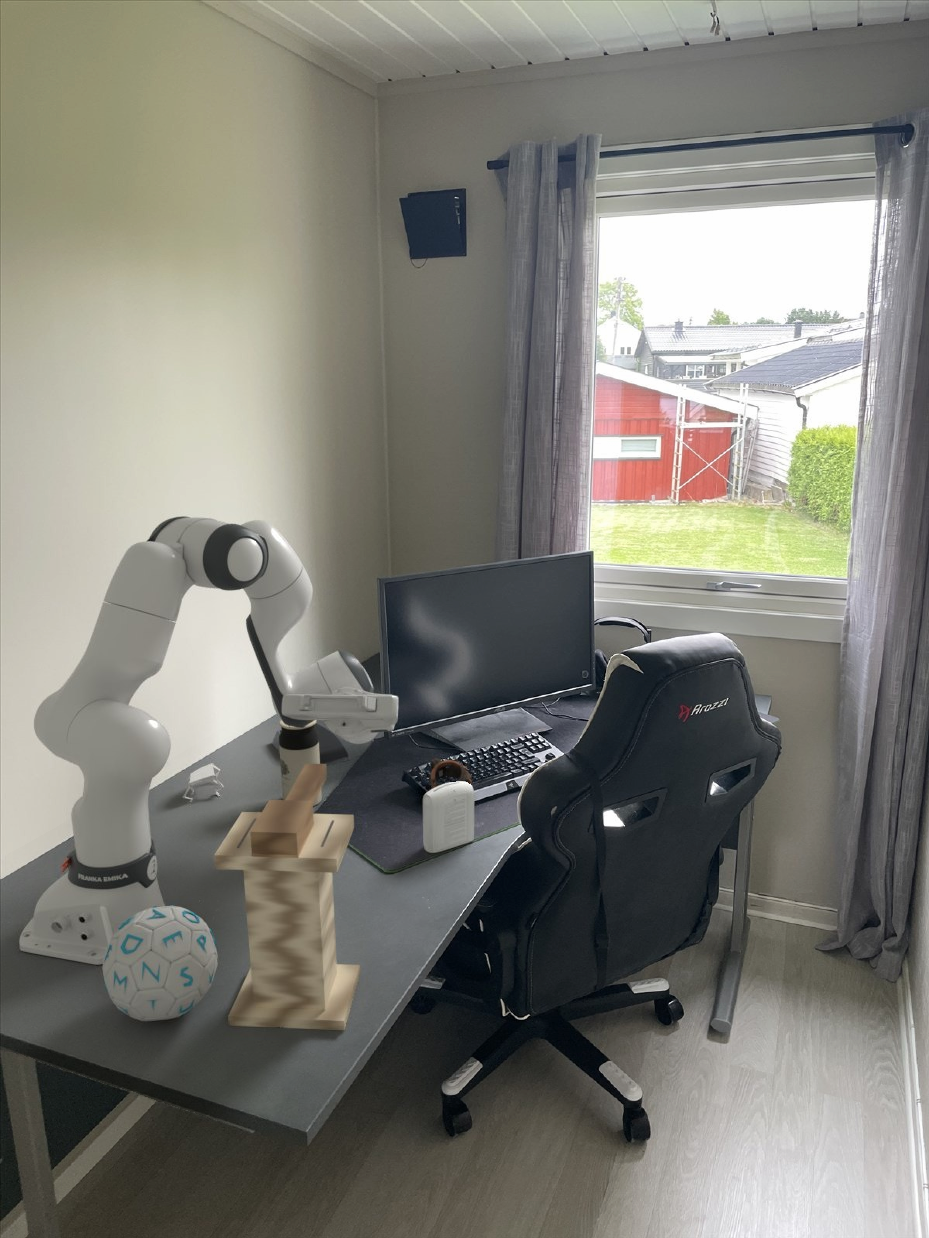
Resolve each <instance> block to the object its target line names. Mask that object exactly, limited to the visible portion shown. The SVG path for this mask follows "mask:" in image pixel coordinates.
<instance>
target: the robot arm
mask: <svg viewBox="0 0 929 1238" xmlns="http://www.w3.org/2000/svg"><path fill="white" fill-rule="evenodd" d="M193 586H196V587H201V588H205V589H207V588H209V589H218V590H221V591H226V592H227V591H240V590H243V591H244V592H245V594H246V595H247V597H248V599H249V602H250V613H249V615H248V616H247V618H246V620H245V627H246V631H247V635H248V637H249V642H250V644H251V646H252V649H253V651H254V654H255V657H256V660H257V661H258V664H259V667H260V670H261V672H262V675H263V677H264V679H265V682H266V684H267V687H268V689H269V692H270V696H271V701H272V706H273V708H274V711H275V713H276V715H277V716H278V718H279V720H282V721H283V722H284V724H286V725H289V726H293V727H299V728H303V727H305V726H306V725H308V724H309V723H311V722H313V721H314V720H317V721H323V722H324V724H325V726H326V727H327V728H328V730H329V731H331V732H332V733H333V734H334V735H335V736H338V737H340V738H341V739H343V740H344V741H346V742H348V743H351V744H355V745H360V744H361V745H362V744H366V743H369V742H371V741H372V740H374V739H375V738H376V737H377V735H379V733H383V732H384V733H385V732H386V733H387V732H392V731H394V729H395V725H396V724H397V723H398V719H399V717H398V716H399V696H398V695H393V694H387V693H377V692H374V689H375V687H374V685H373V683H372V679H371V677H370V676H369V674H368V672H367V671H366V669H365V667H364V666H363V665H362V664H361V662H360V661H359V660H358V659H357V657H356V656H355V655H354V654H353V653H350V652H348V651H345V650H339V649H338V650H336V651H334V652H332V653H330V654H328V655H326V656H324V657H322V658H320V659H319V660H317V661H315V662H314V663H312V664H310V665H308V666H306V667H304V668H302V669H300V670H299V671H297V672H294V673H287V672H286V670H285V667H284V665H283V662H282V660H281V656H280V654H279V652H278V649H279V646H280V644H281V641H282V640H283V639H284V638H285V636H287V634H288V633H289V632H290V631H291V630H292V629H293V627H294V626H296V625H297V624H298V623H299V622H300V621H301V620H302V618H303V617H304V615H306V614H307V611H308V610H309V607H310V605H311V602H312V600H313V594H314V592H313V591H314V587H313V584H312V582H311V578H310V576H309V574H308V572H307V570H306V568H305V565H303V563H302V560H301V559H300V558H299V556H298V554H297V553H296V552H295V550H294V549H293V547H292V546H291V545H290V543H289V542H288V540H286V538H285V537H284V536H283V535H282V534H281V532H280V531H279V530H278V529H277V528H276V526H274V525H273V524H272V523H270V522H268V521H266V520H261V519H260V520H259V519H255V520H250V521H247V522H245V523H242V524H236V523H229V522H225V521H221V520H217V519H214V518H211V517H196V516H195V517H189V516H186V515H185V516H175V517H171V518H168V519H166V520H164V521H162V522H161V523H159V524H158V525H157V526H156V527H155V529H154V530H153V531H152V533H151V534H150V536H149V537H148V539H147V540H146V541H140V542H137V543H134V544H132V545H131V546H130V547H128V548H127V550H126V552H125V553H124V554H123V556H122V558H121V559H120V562H119V563H118V566H117V567H116V569H115V571H114V574H113V575H112V577H111V580H110V582H109V584H108V588H107V590H106V592H105V596H104V598H103V601H102V604H101V607H100V611H99V614H98V616H97V619H96V621H95V624H94V628H93V631H92V634H91V637H90V639H89V642H88V644H87V647H86V649H85V652H84V653H83V656H82V657H81V659H80V660H79V662H78V663H77V665H76V667H75V668H74V670H73V672H72V673H71V674H70V676H69V678H67V680H66V681H65V682H64V683H63V685H62V686H60V688H59V689H58V690H56V691H55V692H53V693H51V694H49V695H48V696H47V697H45V699H44V700H42V702H41V703H40V704H39V706H38V707H37V710H36V711H35V715H34V719H33V729H34V733H35V736H36V737H37V739H38V740H39V741H40V743H42V745H43V746H44V747H45V748H46V749H47V750H49V752H51V754H53V755H54V756H56V757H58V758H60V759H62V760H63V761H67V762H69V763H71V764H73V765H76V766H78V768H79V769H80V771H81V773H82V775H83V778H84V779H83V789H82V790H83V792H82V796H80V797H79V798H78V800H77V801H75V803H74V804H73V806H72V808H71V813H70V817H71V824H72V831H73V841H74V849H73V850H71V852H69V853H68V855H67V856H66V859H65V860H64V861H63V863H62V864H61V865H60V868H61V873H65V871H66V869H67V870H68V871H67V872H66V873H65V874H64V875H62V876H61V877H59V878H58V879H57V880H56V881H54V882H53V883H52V884H51V885H50V886H49V887H47V889H46V890H45V891H44V892H43V893H42V895H41V896H40V898H39V899H38V900H37V903H36V905H35V908H34V912H33V917H32V918H31V919H30V921H28V923H27V924H26V926H25V927H24V928H23V930H22V931H21V934H20V937H19V941H18V942H19V943H18V944H19V946H18V947H19V950H20V951H21V952H23V953H25V952H26V953H29V954H36V955H40V956H47V957H52V958H57V959H63V960H68V961H73V962H80V963H85V964H90V965H96V966H97V965H103V959H104V955H105V952H106V949H107V947H108V944H109V942H110V940H111V938H112V936H113V935H114V934H115V932H116V931H117V930H118V928H119V927H120V926H121V925H122V923H124V922H125V921H127V920H128V919H130V918H131V917H133V916H134V915H136V914H137V913H139V912H141V911H144V910H146V909H149V908H152V907H154V906H157V907H163V906H166V904H165V902H164V899H163V896H162V893H161V890H160V886H159V882H158V859H157V854H156V847H155V841H154V839H153V838H152V836H151V835H152V834H151V826H150V813H149V812H150V811H149V796H150V795H149V794H150V789H151V784H152V781H153V778H154V777H156V776H157V775H158V774H159V773H160V772H161V771H162V769H163V768H164V767H165V765H166V764H167V762H168V760H169V757H170V752H171V746H172V745H171V744H172V743H171V741H172V740H171V737H170V734H169V732H168V730H167V728H166V726H164V725H163V724H162V723H161V722H160V721H158V720H157V718H155V717H153V716H152V715H151V714H149V713H148V712H146V711H145V710H143V709H140V708H138V707H134V706H132V705H130V702H131V700H132V698H133V696H134V695H135V693H136V692H137V690H138V689H139V688H140V687H141V685H142V684H143V683H144V682H145V681H146V680H148V679H150V678H151V677H153V676H155V675H157V674H158V672H159V671H161V669H162V667H163V665H164V662H165V658H166V655H167V653H168V650H169V647H170V643H171V640H172V636H173V633H174V629H175V627H176V624H177V621H178V617H179V614H180V610H181V605H182V600H183V598H184V597H185V595H186V594H187V592H188V591H189V590H190V588H192V587H193Z"/></svg>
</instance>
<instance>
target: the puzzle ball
mask: <svg viewBox="0 0 929 1238" xmlns="http://www.w3.org/2000/svg"><path fill="white" fill-rule="evenodd" d="M217 948H218V945H217V941H216V939H215V936H214V933H213V931H212V928H209V925H208V924H207V922H205V921H204V920H203V918H202V917H201V916H198V915H197V914H196V913H195V912H193V911H191V910H189V909H187V908H184V907H182V906H175V905H174V904H170V905H167V906H166V905H165V906H163V907H157V906H154V907H152V908H149V909H146V910H144V911H141V912H139V913H137V914H136V915H134V916H133V917H131V918H130V919H128V920H127V921H125V922H124V923H122V925H121V926H120V927H119V928H118V930H117V931H116V932H115V934H114V935H113V936H112V938H111V940H110V942H109V944H108V947H107V949H106V952H105V955H104V959H103V964H102V973H103V974H102V975H103V977H102V978H103V982H104V983H103V984H104V988H105V991H106V993H107V995H108V996H109V998H110V1000H111V1001H112V1003H113V1005H115V1006H116V1008H117V1009H118V1010H119V1011H121V1012H122V1013H124V1014H125V1015H127V1016H129V1017H130V1018H132V1019H134V1020H139V1021H141V1022H152V1021H163V1020H164V1021H165V1020H171V1019H176V1018H179V1017H181V1016H182V1015H184V1014H186V1013H188V1012H189V1011H190V1010H191V1009H193V1007H195V1006H196V1005H198V1004H199V1002H200V1001H201V1000H202V999H203V998H204V997H205V996H206V993H208V991H209V989H210V988H211V986H212V984H213V981H214V978H215V974H216V972H217V968H218V963H219V962H218V952H217Z"/></svg>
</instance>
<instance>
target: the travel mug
mask: <svg viewBox="0 0 929 1238" xmlns="http://www.w3.org/2000/svg"><path fill="white" fill-rule="evenodd" d="M317 721H318V720H314V721H313V722H311V723H309V724H308V725H306V726H305V727H303V728H299V727H293V726H289V725H286V724H284V722H283V721H282V720H281V719H279V721H278V722H279V723H278V724H279V727H281V730H282V731H281V733H280V735H279V747H280V752H279V756H280V757H279V758H280V759H279V760H280V774H281V775H280V778H281V779H280V780H281V789H282V790H281V792H282V800H285V799H286V797H287V796H288V794H289V792H290V790H291V788H292V787H293V785H294V783H295V781H296V780H297V778H298V776H299V774H300V773H301V771H302V769H303V767H304V766H305V764H306V763H309V764H320V755H319V736H318V732H317V731H316V729H315V723H316V724H317ZM322 800H323V799H322V789H321V790H320V792H319V794H318V796H317V798H316V800H315V802H314V804H313V807H315V806H317V805H318V804H319V803H321V801H322Z"/></svg>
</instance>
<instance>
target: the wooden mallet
mask: <svg viewBox="0 0 929 1238" xmlns="http://www.w3.org/2000/svg"><path fill="white" fill-rule="evenodd" d="M327 778H328V775H327V766H326V764H309V763H306V764H305V766H304V767H303V769H302V771H301V773H300V774H299V776H298V778H297V780H296V781H295V783H294V785H293V787H292V788H291V790H290V792H289V794H288V796H287V797H286V799H285V800H283V799H269V800H268V802H267V803H266V804H265V806H264V808H263V810H262V813H261V815H260V816H259V818H258V820H257V821H256V823H255V825H254V826H253V828H252V830H251V831H250V835H251V848H252V854H251V855H252V857H285V858H298V857H299V855H300V853H301V851H302V849H303V847H304V845H305V842H306V840H307V838H308V836H309V834H310V832H311V830H312V828H313V825H314V818H313V814H314V806H313V804H314V802H315V800H316V798H317V796H318V794H319V792H320V790H321V791H322V788H323V785H324V784H325V782H326V780H327Z"/></svg>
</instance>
